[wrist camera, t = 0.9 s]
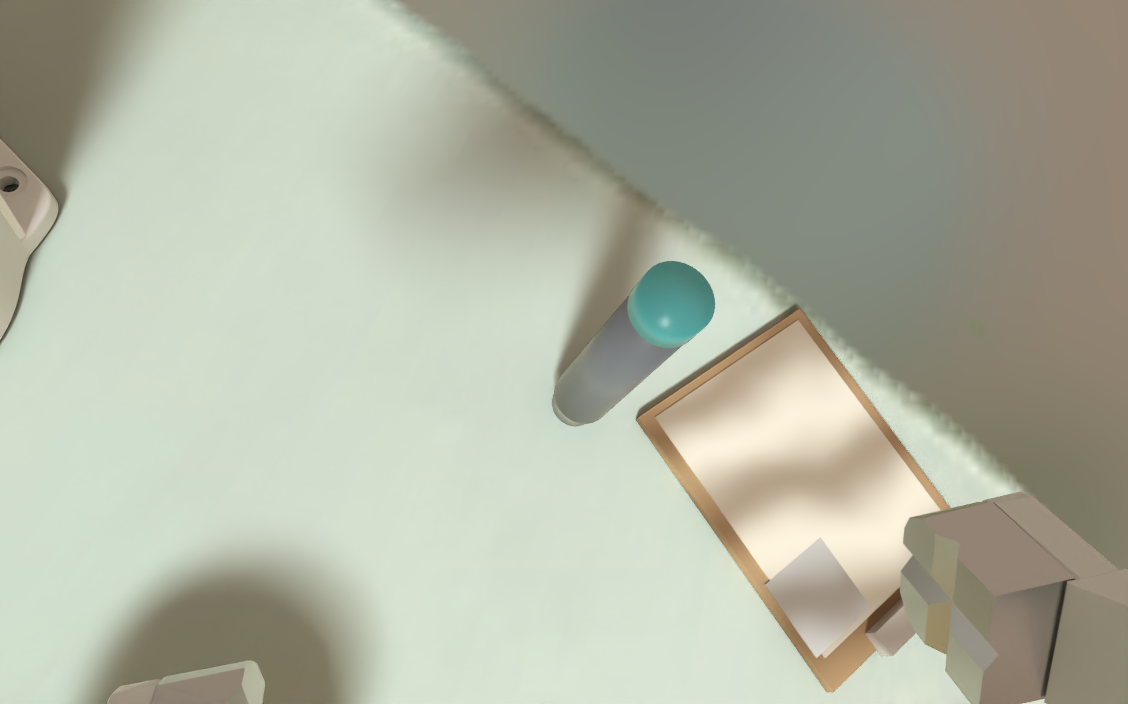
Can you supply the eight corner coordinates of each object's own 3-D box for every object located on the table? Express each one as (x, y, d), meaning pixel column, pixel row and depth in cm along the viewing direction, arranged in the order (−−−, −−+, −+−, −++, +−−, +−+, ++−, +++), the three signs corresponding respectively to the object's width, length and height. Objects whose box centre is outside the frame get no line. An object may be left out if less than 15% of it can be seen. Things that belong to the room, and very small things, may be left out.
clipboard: (635, 419, 47) (646, 410, 45) (794, 312, 52) (808, 301, 51) (831, 699, 44) (849, 699, 43) (976, 555, 50) (996, 551, 48)
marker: (534, 394, 46) (625, 282, 33) (579, 366, 47) (683, 248, 34) (567, 443, 45) (672, 348, 33) (612, 413, 46) (729, 311, 34)
